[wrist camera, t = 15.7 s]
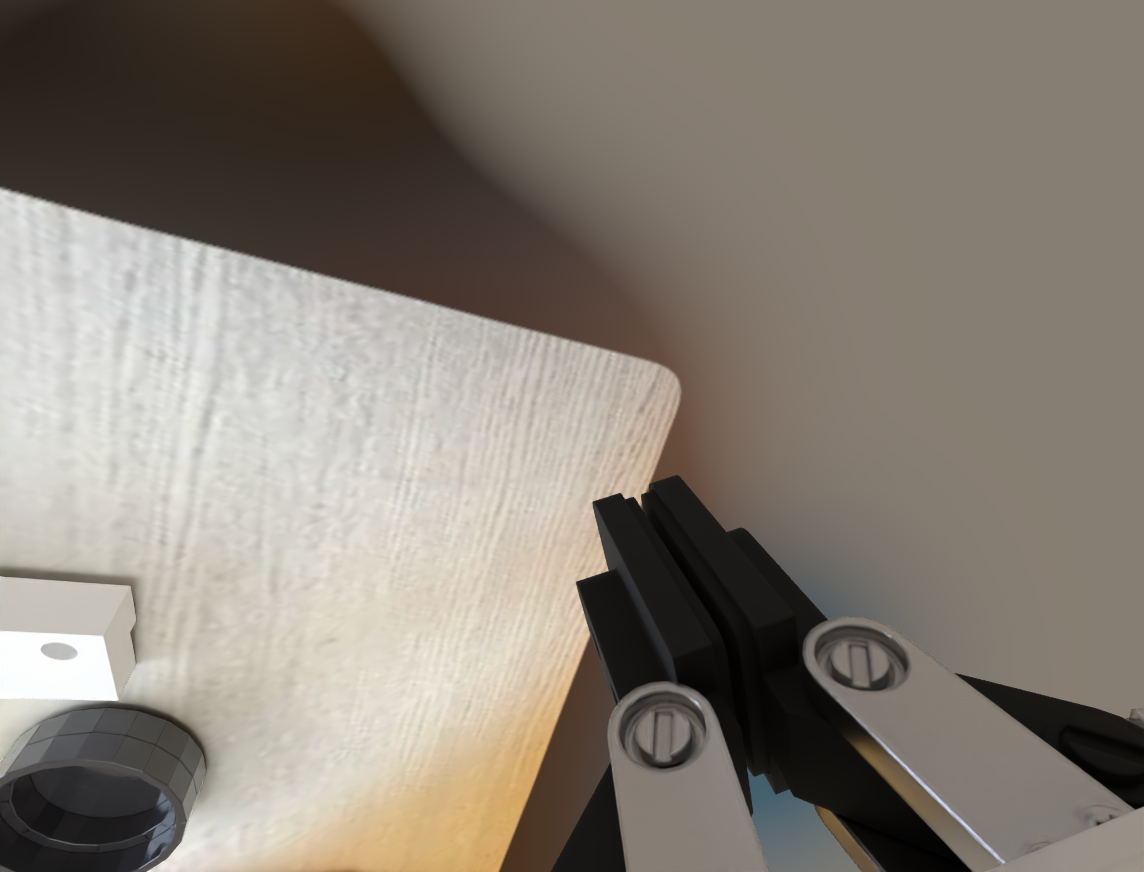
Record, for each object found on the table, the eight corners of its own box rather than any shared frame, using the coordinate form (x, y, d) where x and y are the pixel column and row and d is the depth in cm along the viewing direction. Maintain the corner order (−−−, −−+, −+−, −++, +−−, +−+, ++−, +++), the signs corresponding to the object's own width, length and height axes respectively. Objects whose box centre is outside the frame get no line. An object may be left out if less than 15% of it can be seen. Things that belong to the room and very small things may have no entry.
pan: (-33, 739, 39) (-85, 803, 35) (155, 679, 41) (124, 734, 36) (74, 844, 45) (39, 910, 41) (237, 788, 46) (218, 847, 42)
